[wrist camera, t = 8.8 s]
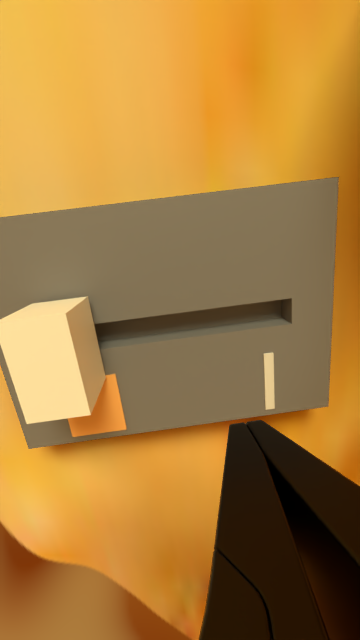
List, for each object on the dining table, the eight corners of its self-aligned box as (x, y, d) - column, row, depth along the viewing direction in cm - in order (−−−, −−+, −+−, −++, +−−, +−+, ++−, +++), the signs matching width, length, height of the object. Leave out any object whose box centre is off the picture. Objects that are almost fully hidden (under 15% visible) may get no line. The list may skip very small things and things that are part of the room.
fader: (94, 291, 16) (65, 313, 11) (110, 366, 18) (90, 415, 13) (44, 297, 16) (-7, 323, 11) (64, 372, 18) (26, 423, 13)
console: (313, 185, 17) (339, 176, 14) (309, 387, 21) (329, 407, 18) (-17, 225, 16) (-50, 222, 14) (44, 424, 20) (28, 450, 18)
